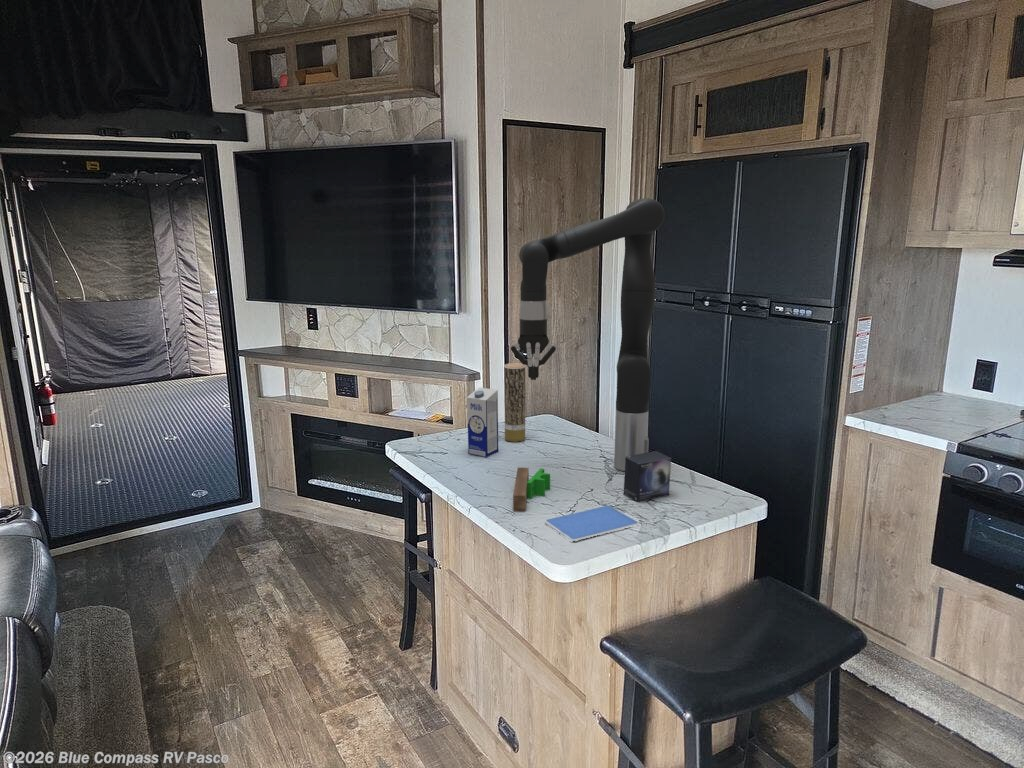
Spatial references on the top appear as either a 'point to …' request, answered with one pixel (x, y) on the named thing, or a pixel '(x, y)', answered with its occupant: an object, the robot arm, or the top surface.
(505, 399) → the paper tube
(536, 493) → the pipe clamp
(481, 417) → the milk carton
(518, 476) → the block
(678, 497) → the top surface
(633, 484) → the small box
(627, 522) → the tablet computer
